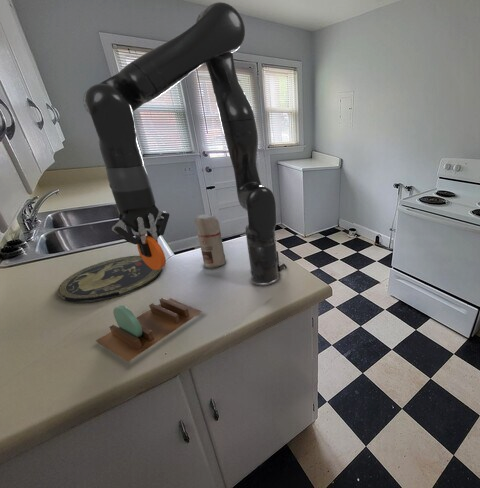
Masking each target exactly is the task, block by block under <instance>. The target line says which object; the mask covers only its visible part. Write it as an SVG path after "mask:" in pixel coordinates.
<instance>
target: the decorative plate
mask: <svg viewBox="0 0 480 488" xmlns="http://www.w3.org/2000/svg"><path fill="white" fill-rule="evenodd" d="M163 269H164V267H163V268H161V269H159V270H153V269H151V268H150V267H149V266H148V265H147V264H146V263H145V262H144V261H143V259H142V258H141V256H140V255H129V256H122V257H118V258H112V259H109V260H105V261H100V262H98V263H96V264H92V265H90V266H88V267H85V268H82V269H80V270H79V271H76V272H74V273H73V274H71V275H70V276H68V277H67V278H65V279H64V280H63V281H62V282H61V284H60V285H59V286H58V289H57V292H58V297H59V298H60V299H61V300H62V301H65V302H67V303H75V304H79V303H80V304H83V303H93V302H94V303H95V302H101V301H106V300H111V299H113V298H117V297H121V296H123V295H126V294H130V293H133V292H134V291H137V290H139V289H141V288H143V287H145V286H147V285H148V284H150V283H152V282H153V281H154V280H155V279H156V278H158V276H160V275H161V273H162V272H163Z"/></svg>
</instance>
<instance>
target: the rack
mask: <svg viewBox="0 0 480 488" xmlns="http://www.w3.org/2000/svg"><path fill="white" fill-rule="evenodd" d="M202 312H203V311H202V310H200V309H197V308H196V307H193V306H191V305H188V304H185V303H183V302H181V301H178V300H176V299H174V298H171V297H170V298H169V299H166V298H163V297H161V298H159V304H155V303H154V302H152V303H150V304H149V310H147V311H145V312H144V313H142V314H140V315H138V316H136V318H137V319H138V321H139V323H140V325H141V328H142V336H141V337H139V338H137V337H135V336H133V335H131V334H129V333H128V332H126V331H124V330H122V329H121V328H120V327H119V326H117V325H116V324H112V325H109V330H110V332H108V333H106V334H104V335H102V336H101V337H98V338H97V339H96V340H95V342H97V343H98V344H99V345H101V346H102V347H104V348H106V349H108V350H109V351H111V352H112V353H114V354H116V355H117V356H118V357H120V358H122V359H123V360H125V361H126V362H130V361H132V360H133V359H135V358H136V357H138V356H139V355H140V354H142V353H144V352H145V351H146V350H148V349H149V348H151V347H153V346H154V345H156V344H157V343H158V342H160V341H161V340H163V339H164V338H166V337H167V336H169V335H170V334H172V333H173V332H175V331H176V330H177V329H179V328H181V327H182V326H183V325H185V324H186V323H188V322H190V320H192V319H194V318H195V317H197V316H198V315H200V314H201V313H202Z"/></svg>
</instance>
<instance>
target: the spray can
mask: <svg viewBox="0 0 480 488" xmlns="http://www.w3.org/2000/svg"><path fill="white" fill-rule="evenodd" d="M193 221H194V222H193V223H194V225H195V228H196V235H197V238H198V242H199V247H200V250H201V256H202V261H203V267H204V268H209V269H210V268H211V269H214V268H218V267H219V268H220V267H221V266H223V265H226V263H227V259H226V255H225V250H224V244H223V239H222V233H221V232H222V231H221V226H220V222H219V219H218V218H217V216H216V215H213V214H203V213H202V214H198V215H197V216H196V217H195V218H194V219H193Z"/></svg>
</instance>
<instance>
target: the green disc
mask: <svg viewBox="0 0 480 488" xmlns="http://www.w3.org/2000/svg"><path fill="white" fill-rule="evenodd" d="M112 313H113V318H114V320H115V322H116V324H117V325H118V327H120V328H121V329H122V330H124V331H126V332H128V333H129V334H131V335H133V336H135V337H137V338H139V337H141V336H142V328H141V325H140V323H139V321H138V319H137V315H135V314H134V313H133V312H132V310H130V309H129V308H128V307H127V306H126V305H123V304H122V305H121V304H120V305H118V306H116V307H115V308H114V309H113V312H112Z"/></svg>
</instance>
